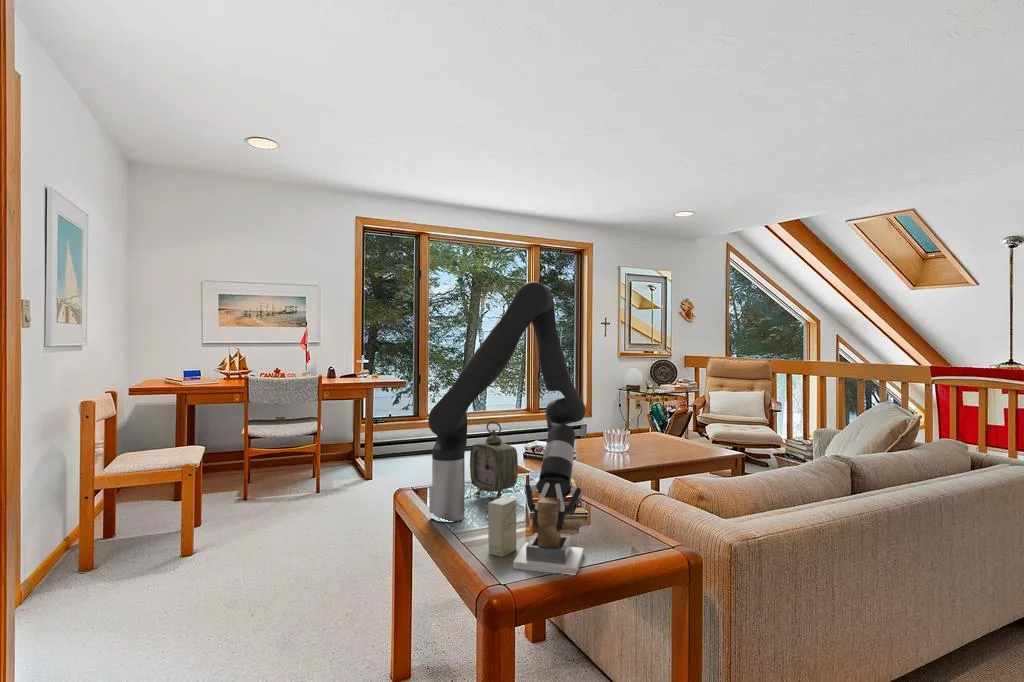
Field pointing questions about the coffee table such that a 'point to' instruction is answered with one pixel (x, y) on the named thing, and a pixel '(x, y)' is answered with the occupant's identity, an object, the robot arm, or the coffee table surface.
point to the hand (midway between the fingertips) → (547, 528)
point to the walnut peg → (548, 522)
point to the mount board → (549, 557)
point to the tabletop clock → (493, 464)
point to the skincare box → (502, 526)
